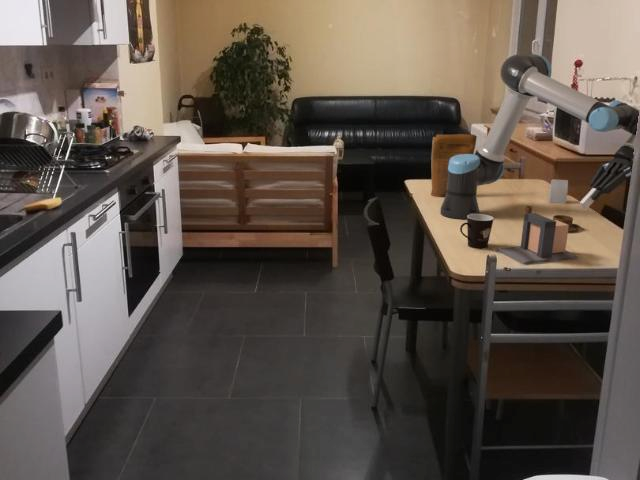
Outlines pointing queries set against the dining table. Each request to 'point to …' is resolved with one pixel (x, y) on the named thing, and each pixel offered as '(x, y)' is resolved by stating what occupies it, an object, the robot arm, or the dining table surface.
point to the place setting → (561, 218)
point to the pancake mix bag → (447, 157)
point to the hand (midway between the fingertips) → (583, 205)
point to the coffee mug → (478, 230)
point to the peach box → (559, 237)
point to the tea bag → (558, 191)
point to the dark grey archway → (545, 233)
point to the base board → (534, 255)
